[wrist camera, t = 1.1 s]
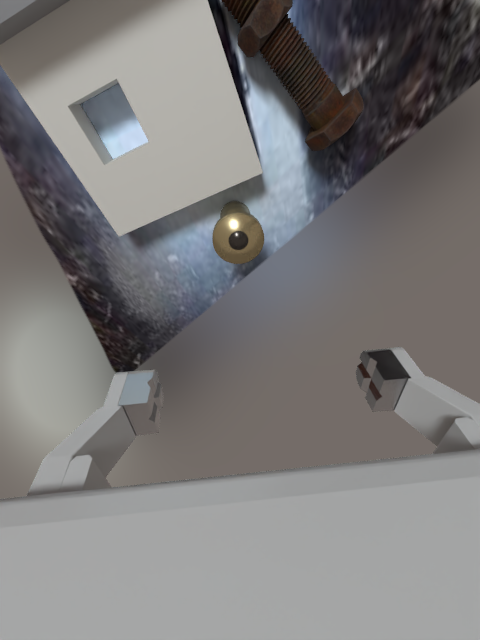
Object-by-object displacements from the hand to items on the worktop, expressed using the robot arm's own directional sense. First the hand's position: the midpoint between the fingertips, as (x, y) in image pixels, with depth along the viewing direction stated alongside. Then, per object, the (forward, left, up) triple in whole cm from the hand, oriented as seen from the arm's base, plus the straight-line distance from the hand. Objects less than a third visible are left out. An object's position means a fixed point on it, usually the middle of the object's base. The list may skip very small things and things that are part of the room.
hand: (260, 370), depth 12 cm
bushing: (+1, +3, -28) cm, 28 cm away
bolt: (-9, -8, -28) cm, 30 cm away
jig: (+5, -10, -27) cm, 30 cm away
